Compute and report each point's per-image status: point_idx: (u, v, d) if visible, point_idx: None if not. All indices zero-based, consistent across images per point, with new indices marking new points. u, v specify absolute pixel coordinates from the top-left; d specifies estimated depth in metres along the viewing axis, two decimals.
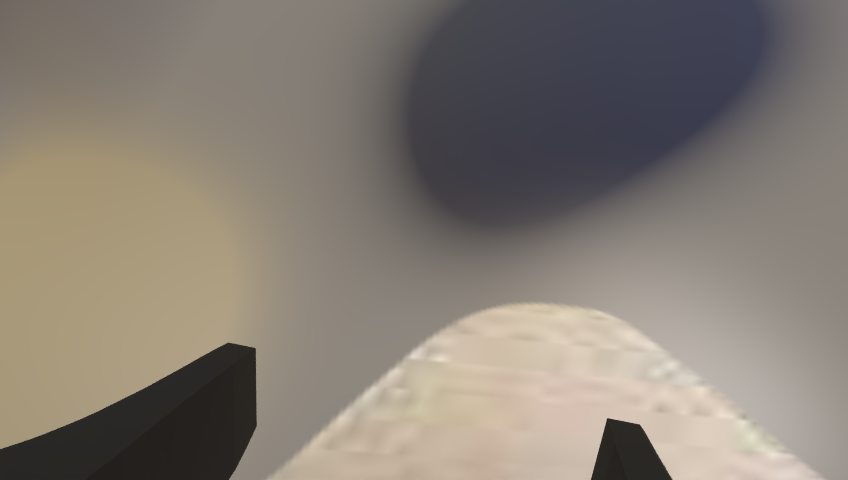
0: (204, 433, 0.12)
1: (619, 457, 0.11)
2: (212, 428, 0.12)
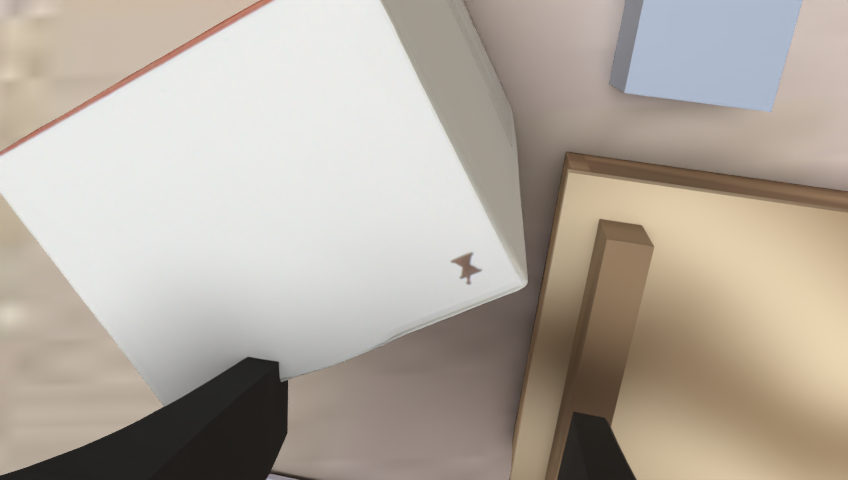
0: (241, 442, 0.12)
1: (580, 449, 0.11)
2: (248, 436, 0.12)
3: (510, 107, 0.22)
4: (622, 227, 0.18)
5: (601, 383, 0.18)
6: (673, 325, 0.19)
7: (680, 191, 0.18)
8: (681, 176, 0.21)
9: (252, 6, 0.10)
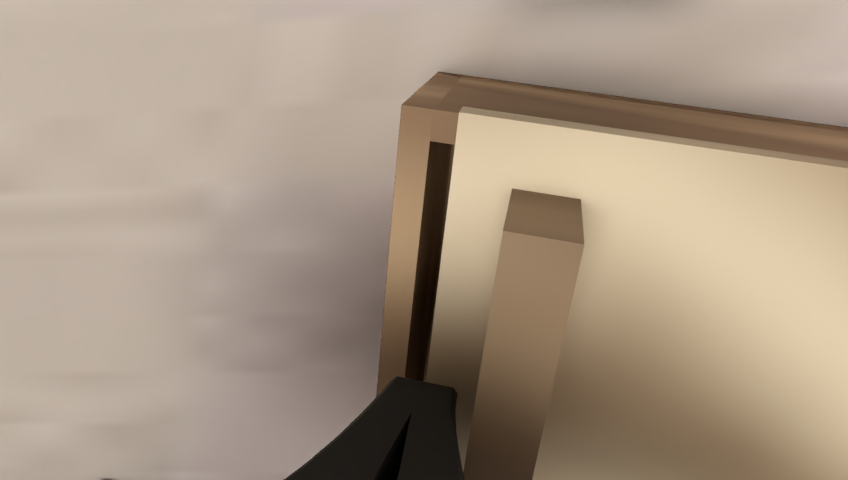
0: (396, 476, 0.11)
1: (411, 414, 0.11)
2: None
3: None
4: (543, 204, 0.11)
5: (506, 455, 0.11)
6: (633, 353, 0.12)
7: (643, 144, 0.11)
8: (593, 107, 0.14)
9: None
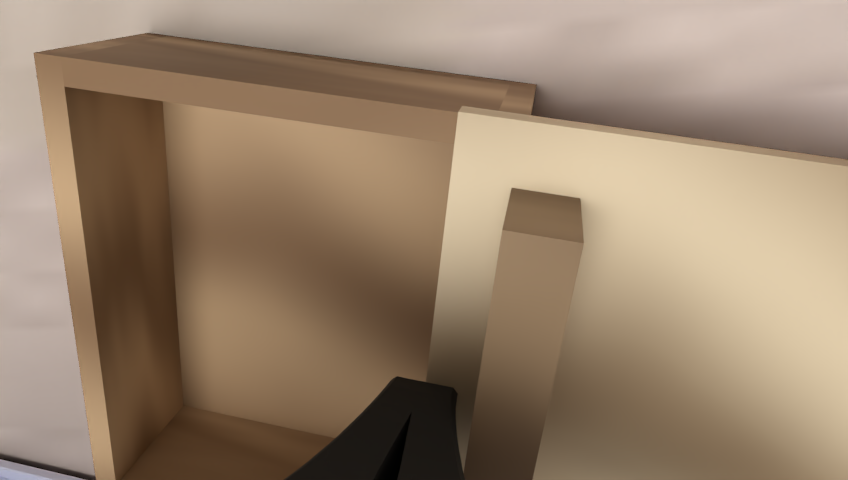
0: (396, 476, 0.11)
1: (411, 414, 0.11)
2: None
3: None
4: (543, 204, 0.11)
5: (506, 454, 0.11)
6: (632, 352, 0.12)
7: (642, 143, 0.11)
8: (252, 59, 0.15)
9: None
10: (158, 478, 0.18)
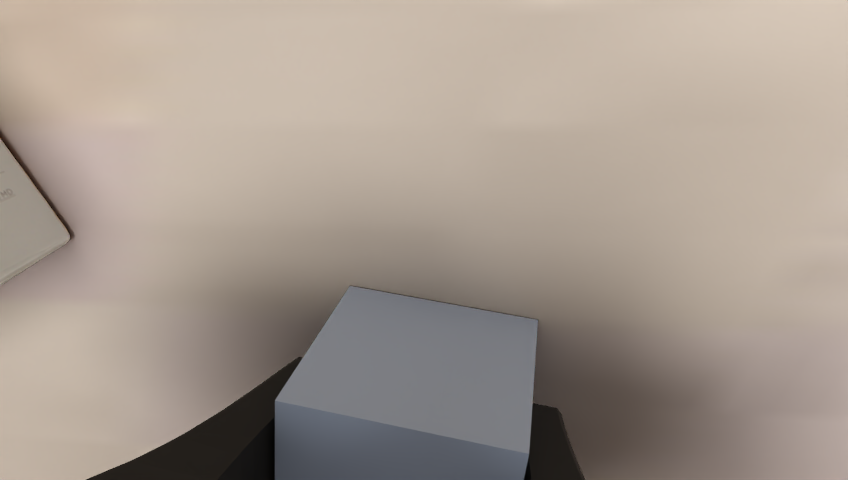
0: None
1: None
2: None
3: None
4: None
5: None
6: None
7: None
8: None
9: None
10: None
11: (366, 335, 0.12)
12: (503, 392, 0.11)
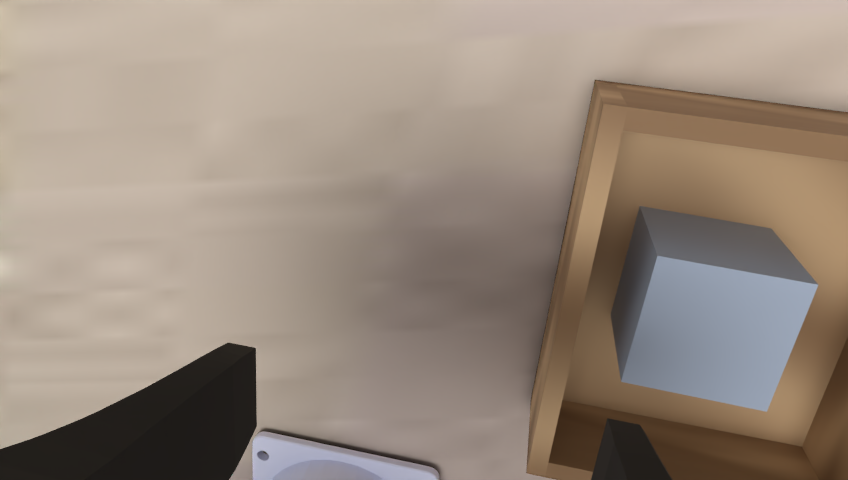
0: (204, 434, 0.12)
1: (619, 457, 0.11)
2: (212, 428, 0.12)
3: None
4: None
5: None
6: None
7: None
8: (731, 106, 0.18)
9: None
10: (577, 457, 0.21)
11: (677, 230, 0.19)
12: (781, 259, 0.18)
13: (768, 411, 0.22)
